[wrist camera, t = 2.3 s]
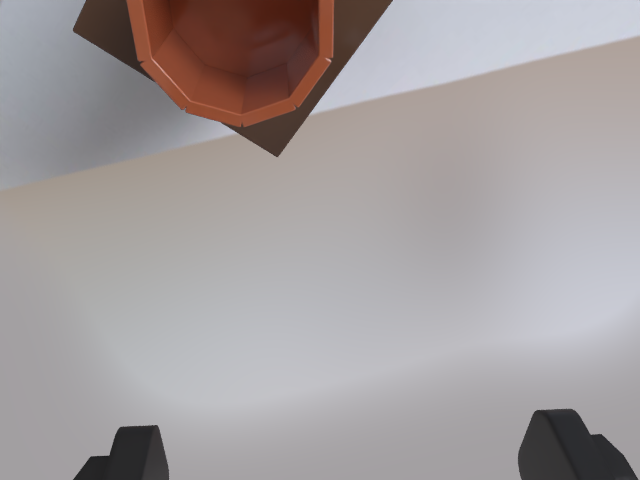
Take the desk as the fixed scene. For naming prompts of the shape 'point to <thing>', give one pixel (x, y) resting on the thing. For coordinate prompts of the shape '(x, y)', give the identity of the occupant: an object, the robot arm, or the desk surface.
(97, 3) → the dark brown block
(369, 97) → the desk surface
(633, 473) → the robot arm
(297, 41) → the faceted orange cup
